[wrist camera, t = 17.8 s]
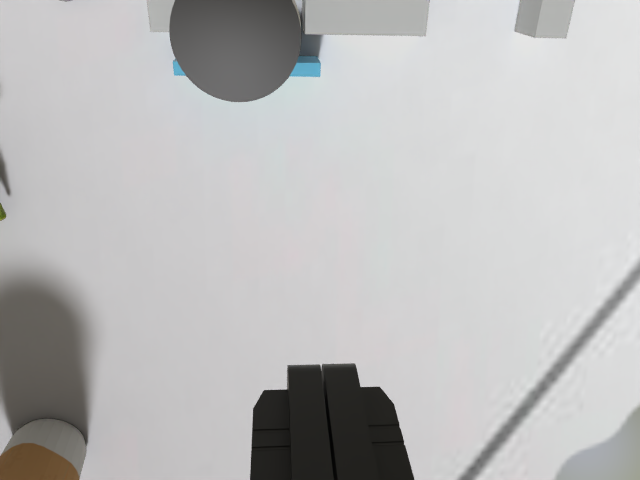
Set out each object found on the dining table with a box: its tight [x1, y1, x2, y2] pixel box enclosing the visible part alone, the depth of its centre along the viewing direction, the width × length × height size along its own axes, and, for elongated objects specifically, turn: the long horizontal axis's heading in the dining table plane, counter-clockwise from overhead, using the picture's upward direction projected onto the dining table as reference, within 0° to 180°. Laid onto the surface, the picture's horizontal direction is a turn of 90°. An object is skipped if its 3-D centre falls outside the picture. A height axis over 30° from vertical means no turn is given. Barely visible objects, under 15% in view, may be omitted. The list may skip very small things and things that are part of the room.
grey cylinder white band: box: [169, 0, 301, 102], centre depth 26 cm, size 5×5×15 cm
